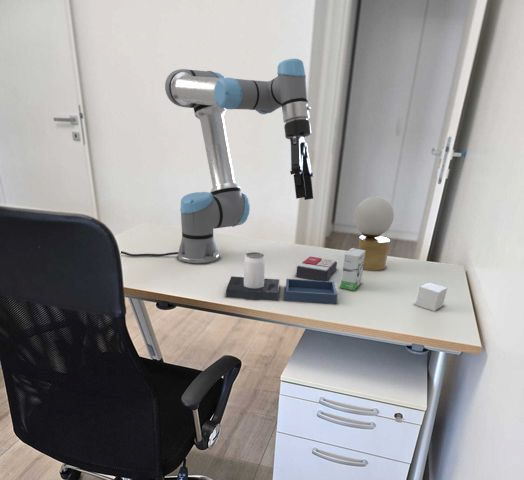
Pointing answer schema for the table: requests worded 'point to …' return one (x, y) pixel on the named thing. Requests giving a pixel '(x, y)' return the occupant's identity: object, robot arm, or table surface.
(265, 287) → the plate
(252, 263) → the can
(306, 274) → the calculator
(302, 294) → the blue tray
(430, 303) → the white cube
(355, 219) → the lamp
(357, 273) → the ink box
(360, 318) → the table surface
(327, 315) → the table surface
